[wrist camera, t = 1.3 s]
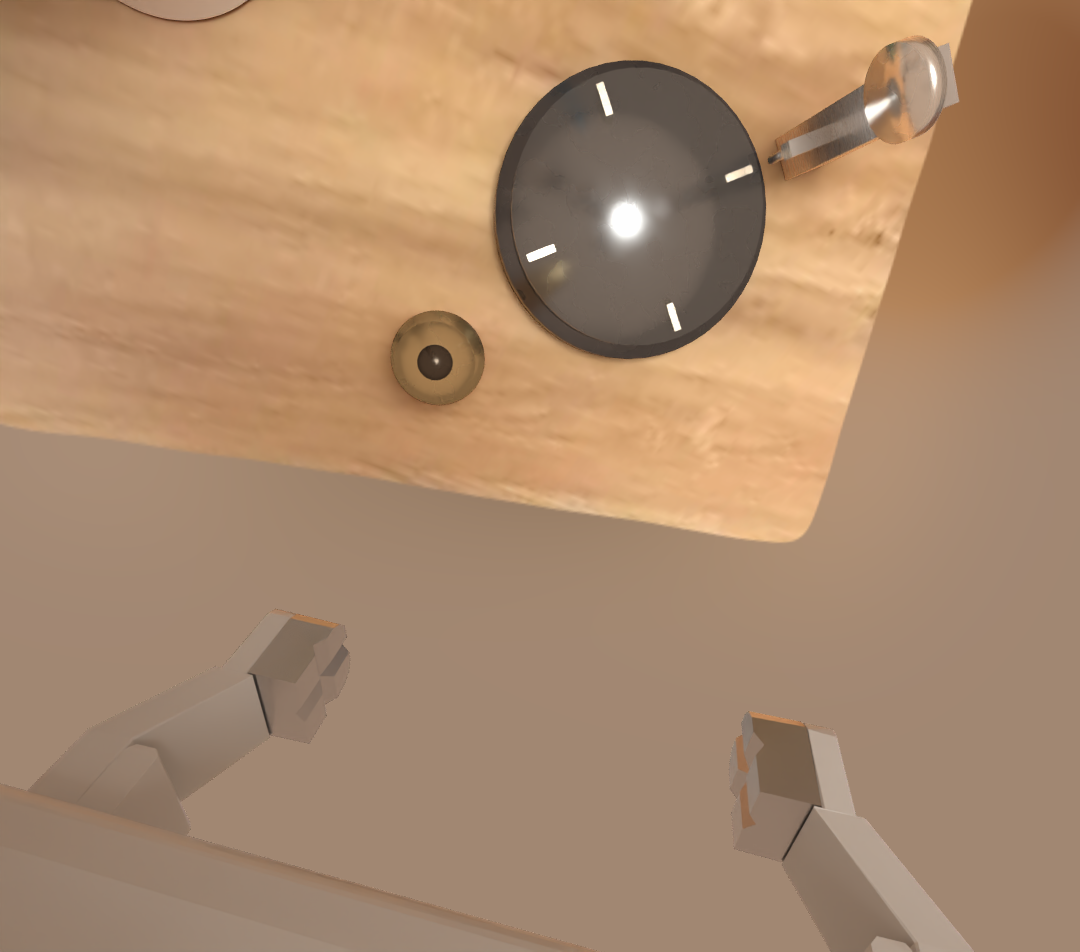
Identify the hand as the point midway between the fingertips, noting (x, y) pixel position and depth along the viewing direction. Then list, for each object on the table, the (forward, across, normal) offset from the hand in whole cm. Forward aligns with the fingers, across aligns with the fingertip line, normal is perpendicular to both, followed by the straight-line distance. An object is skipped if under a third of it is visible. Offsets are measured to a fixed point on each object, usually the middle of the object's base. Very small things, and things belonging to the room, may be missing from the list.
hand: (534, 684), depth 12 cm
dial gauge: (+46, -8, -7) cm, 47 cm away
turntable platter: (+39, +1, -3) cm, 39 cm away
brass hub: (+33, +14, +7) cm, 36 cm away
